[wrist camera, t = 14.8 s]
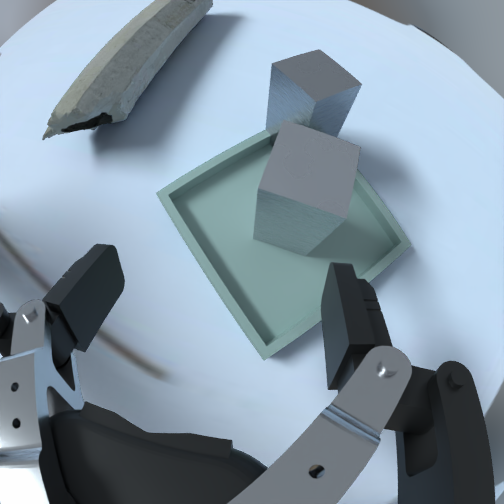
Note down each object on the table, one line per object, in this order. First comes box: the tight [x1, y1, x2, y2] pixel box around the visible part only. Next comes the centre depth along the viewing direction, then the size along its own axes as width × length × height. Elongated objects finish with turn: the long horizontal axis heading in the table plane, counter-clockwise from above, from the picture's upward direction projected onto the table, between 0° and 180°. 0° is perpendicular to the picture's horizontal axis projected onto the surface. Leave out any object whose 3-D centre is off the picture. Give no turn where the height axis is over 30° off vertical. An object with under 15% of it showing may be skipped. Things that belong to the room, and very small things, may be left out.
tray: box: [156, 130, 411, 360], centre depth 23 cm, size 16×16×2 cm
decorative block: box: [42, 0, 213, 140], centre depth 24 cm, size 8×30×8 cm, turn 164°
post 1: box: [266, 50, 362, 147], centre depth 20 cm, size 4×4×10 cm
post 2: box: [253, 120, 361, 256], centre depth 18 cm, size 4×4×10 cm
